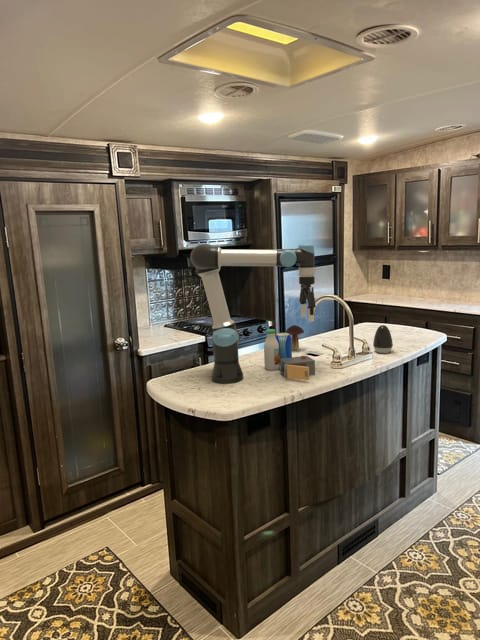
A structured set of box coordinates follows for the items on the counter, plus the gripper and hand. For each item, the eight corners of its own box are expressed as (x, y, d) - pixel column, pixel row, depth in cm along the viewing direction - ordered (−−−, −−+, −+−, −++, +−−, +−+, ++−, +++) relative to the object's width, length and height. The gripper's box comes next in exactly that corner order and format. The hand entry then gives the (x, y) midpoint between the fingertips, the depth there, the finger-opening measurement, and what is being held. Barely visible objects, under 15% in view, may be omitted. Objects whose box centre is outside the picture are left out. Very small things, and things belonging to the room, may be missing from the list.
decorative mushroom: (291, 354, 262) (291, 327, 260) (282, 350, 272) (281, 324, 270) (308, 351, 267) (307, 325, 264) (298, 347, 277) (297, 322, 274)
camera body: (284, 378, 219) (283, 362, 217) (277, 372, 228) (277, 357, 227) (315, 374, 222) (314, 358, 221) (307, 369, 232) (306, 354, 230)
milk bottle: (269, 371, 231) (268, 332, 228) (261, 368, 238) (260, 329, 235) (282, 368, 235) (281, 329, 231) (274, 365, 242) (273, 327, 238)
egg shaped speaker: (372, 354, 253) (372, 326, 250) (374, 349, 262) (374, 323, 260) (391, 355, 249) (392, 327, 246) (393, 350, 258) (393, 323, 256)
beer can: (291, 366, 238) (290, 335, 235) (275, 366, 240) (273, 335, 237) (292, 361, 246) (291, 332, 243) (277, 361, 248) (275, 332, 245)
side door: (283, 377, 217) (283, 364, 216) (285, 376, 219) (284, 363, 217) (308, 381, 211) (307, 367, 210) (309, 380, 212) (309, 366, 211)
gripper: (322, 277, 215) (322, 323, 219) (307, 273, 239) (307, 314, 243) (306, 278, 214) (306, 324, 218) (292, 274, 239) (293, 315, 242)
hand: (307, 319), depth 231 cm, fingers open, 13 cm apart
